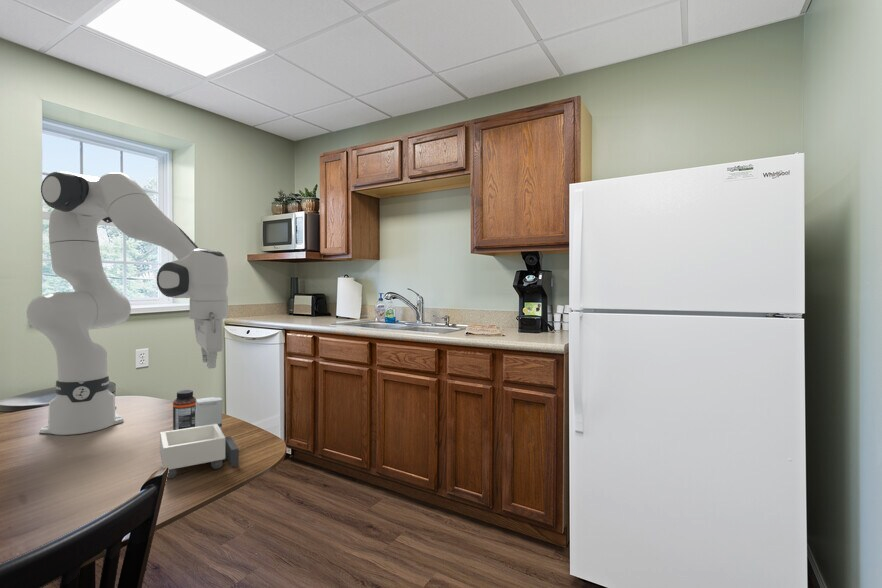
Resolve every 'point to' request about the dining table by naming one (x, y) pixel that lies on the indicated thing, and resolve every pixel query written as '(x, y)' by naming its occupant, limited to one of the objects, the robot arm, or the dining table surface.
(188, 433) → the cart
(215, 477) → the dining table surface
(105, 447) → the dining table surface
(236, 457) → the block
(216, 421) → the skincare box
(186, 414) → the supplement bottle
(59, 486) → the dining table surface
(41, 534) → the dining table surface
